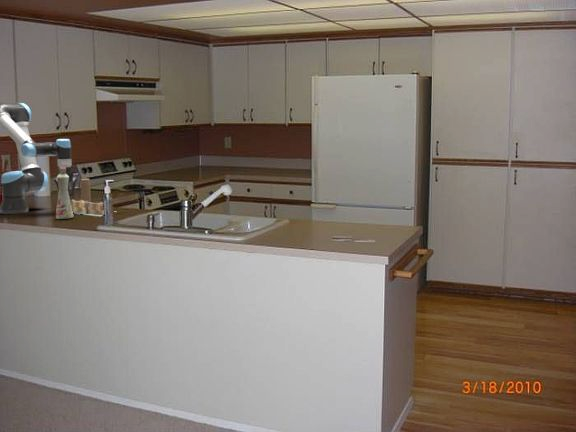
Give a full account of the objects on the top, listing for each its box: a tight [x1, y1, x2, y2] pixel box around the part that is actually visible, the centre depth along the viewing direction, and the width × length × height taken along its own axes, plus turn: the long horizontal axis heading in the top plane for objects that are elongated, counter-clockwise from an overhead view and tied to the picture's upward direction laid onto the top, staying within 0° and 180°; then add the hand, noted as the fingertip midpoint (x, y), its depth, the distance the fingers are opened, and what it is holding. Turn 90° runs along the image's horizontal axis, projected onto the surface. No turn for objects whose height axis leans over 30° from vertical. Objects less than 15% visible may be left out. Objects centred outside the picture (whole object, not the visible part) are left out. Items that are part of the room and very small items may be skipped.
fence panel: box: [70, 198, 86, 213], centre depth 393 cm, size 12×1×7 cm, turn 56°
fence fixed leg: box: [85, 201, 105, 215], centre depth 386 cm, size 14×2×8 cm, turn 56°
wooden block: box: [79, 178, 92, 203], centre depth 410 cm, size 9×4×18 cm, turn 98°
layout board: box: [73, 210, 116, 218], centre depth 394 cm, size 17×28×1 cm, turn 56°
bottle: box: [55, 167, 74, 220], centre depth 373 cm, size 9×9×28 cm
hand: (67, 208), depth 393 cm, fingers closed
